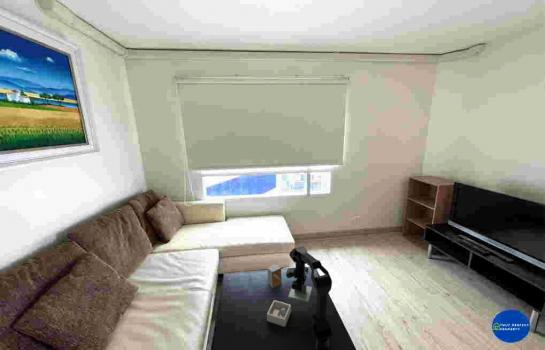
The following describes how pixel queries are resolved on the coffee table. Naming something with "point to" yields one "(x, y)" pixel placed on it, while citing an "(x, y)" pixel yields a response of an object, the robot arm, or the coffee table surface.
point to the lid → (301, 293)
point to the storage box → (279, 313)
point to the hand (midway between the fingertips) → (300, 289)
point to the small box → (274, 275)
